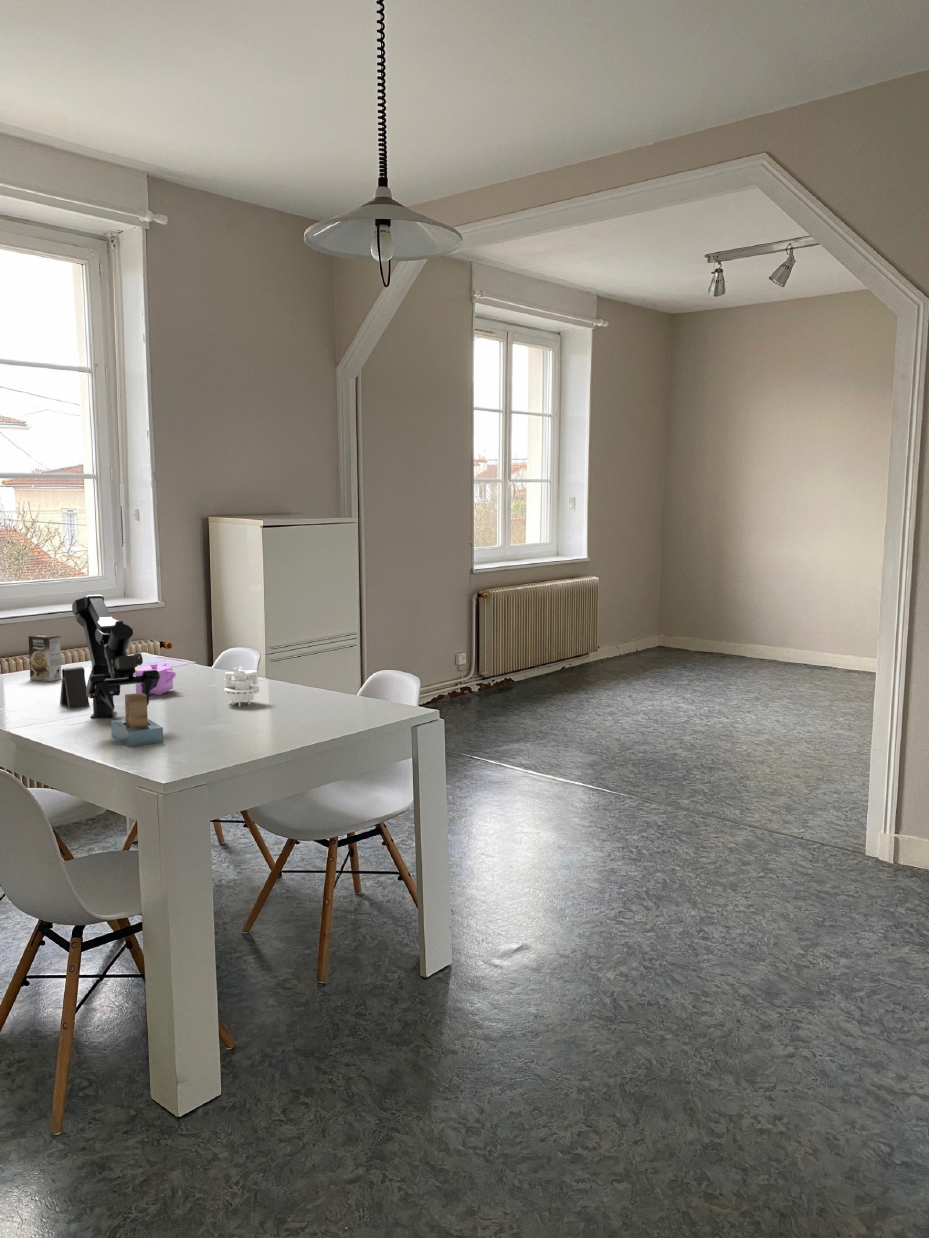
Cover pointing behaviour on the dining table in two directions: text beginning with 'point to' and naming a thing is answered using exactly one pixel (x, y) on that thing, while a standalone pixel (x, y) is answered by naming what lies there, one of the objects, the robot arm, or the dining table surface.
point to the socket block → (137, 733)
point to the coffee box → (45, 657)
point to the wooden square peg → (136, 710)
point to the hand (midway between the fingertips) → (130, 706)
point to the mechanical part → (241, 684)
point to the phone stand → (73, 688)
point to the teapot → (164, 680)
